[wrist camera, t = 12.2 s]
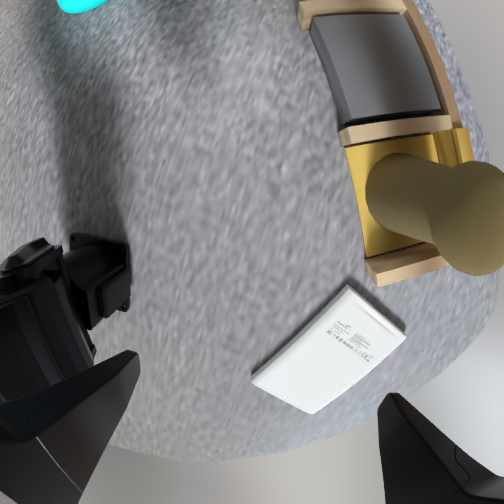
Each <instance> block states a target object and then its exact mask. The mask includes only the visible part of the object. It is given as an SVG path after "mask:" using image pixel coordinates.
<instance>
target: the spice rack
mask: <svg viewBox="0 0 504 504" xmlns="http://www.w3.org/2000/svg"><path fill="white" fill-rule="evenodd" d="M297 22H298V24H299V26H300V29H301V30H307V29H311V31H310V36H311V39H312V41H313V43H314V46H315V48H316V51H317V53H318V56H319V58H320V61H321V63H322V66H323V69H324V71H325V74H326V77H327V80H328V83H329V85H330V88H331V91H332V94H333V97H334V100H335V103H336V107H337V110H338V113H339V116H340V120H341V123H342V125H343V124H349V123H355V122H361V121H367V120H374V119H381V118H388V117H396V116H405V115H415V114H424V113H428V116H429V117H418V118H408V119H399V120H391V121H384V122H377V123H370V124H364V125H358V126H352V127H347V128H345V129H343V130H341V131H339V132H338V137H339V140H340V144H341V146H344V145H349V144H354V143H360V142H365V141H371V140H377V139H383V138H390V137H396V136H403V135H410V134H418V133H426V132H433V134H431V135H423V136H415V137H408V138H401V139H394V140H388V141H382V142H376V143H370V144H364V145H359V146H353V147H348V148H344V149H345V152H346V156H347V160H348V164H349V168H350V173H351V177H352V181H353V186H354V191H355V195H356V200H357V205H358V210H359V215H360V221H361V227H362V232H363V239H364V245H365V251H366V257H370V256H374V255H377V254H381V253H385V252H389V251H392V250H396V249H400V248H404V247H407V246H411V245H414V244H418V243H422V242H424V241H421V240H418V239H415V238H412V237H408V236H405V235H402V234H399V233H395V232H392V231H389V230H386V229H384V228H383V227H382V226H380V225H379V224H378V223H377V222H376V221H375V220H374V218H373V217H372V215H371V214H370V212H369V210H368V206H367V203H366V200H365V185H366V182H367V178H368V174H369V173H370V171H371V169H372V168H373V166H374V165H375V163H377V162H378V161H379V160H380V159H382V158H383V157H384V156H387V155H390V154H393V153H406V154H410V155H413V156H417V157H420V158H424V159H427V160H430V161H434V162H437V163H438V159H439V163H440V164H443V165H446V166H449V167H453V166H456V165H458V164H461V163H464V162H467V161H474V158H473V152H472V147H471V142H470V137H469V133H468V128H462V124H461V120H460V116H459V112H458V108H457V105H456V101H455V98H454V95H453V92H452V89H451V86H450V83H449V80H448V77H447V74H446V71H445V69H444V66H443V63H442V61H441V58H440V56H439V53H438V51H437V49H436V46H435V44H434V42H433V40H432V38H431V35H430V33H429V31H428V29H427V27H426V25H425V23H424V21H423V19H422V17H421V15H420V14H419V12H418V10H417V8H416V6H415V5H414V3H413V1H412V0H308V1H300V2H299V7H298V16H297ZM433 136H434V139H433ZM434 140H435V143H434ZM435 145H436V148H435ZM436 149H437V153H436ZM437 154H438V158H437ZM364 262H365V269H366V272H367V274H368V275H369V276H370V278H371V279H372V280H373V282H374V283H375V284H376V286H377V287H381V286H384V285H388V284H391V283H395V282H398V281H402V280H405V279H408V278H412V277H415V276H418V275H421V274H424V273H428V272H431V271H434V270H437V269H440V268H443V267H446V266H449V265H450V264H449V263H448V262H447V261H446V260H445V259H444V258H443V257H442V256H441V254H440V253H439V251H438V250H437V247H436V245H434V244H431V243H428V242H427V243H423V244H420V245H416V246H412V247H409V248H405V249H401V250H398V251H394V252H390V253H387V254H383V255H379V256H375V257H372V258H368V259H364Z"/></svg>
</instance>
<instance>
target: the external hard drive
mask: <svg viewBox="0 0 504 504" xmlns="http://www.w3.org/2000/svg"><path fill="white" fill-rule="evenodd" d="M406 338H407V336H406V335H405V333H404V332H403V331H402V330H400V329H399V328H398V327H397V326H396V325H395V324H394V323H393V322H391V321H390V320H389V319H388V318H387V317H386V316H384V315H382V314H381V313H380V312H379V311H378V310H377V309H375V307H374V306H373V305H372V304H371V303H369V302H368V301H367V300H366V299H365V298H364V297H362V296H361V295H360V294H359V293H358V292H356V291H355V290H354V289H353V288H352V287H351V286H349V285H348V284H347V285H346V286H345V287H344V288H343V289H342V290H341V291H340V292H339V293H338V294H337V295H336V296H335V297H334V298H333V299H332V300H331V301H330V302H329V303H328V304H327V305H326V306H325V307H324V308H323V309H322V310H321V311H320V312H319V313H318V314H317V315H316V316H315V317H314V318H313V319H312V320H311V321H310V322H309V323H308V324H307V325H306V326H305V327H304V328H303V329H302V330H301V331H300V332H299V333H298V334H297V335H296V336H295V337H294V338H293V339H292V340H291V341H289V342H288V343H287V344H286V345H285V346H284V347H283V348H282V349H281V350H280V351H279V352H277V353H276V354H275V355H274V356H273V357H272V358H271V359H270V360H269V361H268V362H266V363H265V364H264V365H263V366H262V367H261V368H260V369H258V370H257V371H256V372H255V373H254V374H253V375H252V376H251V382H252V383H253V384H254V385H256V386H258V387H259V388H261V389H263V390H265V391H267V392H268V393H270V394H272V395H274V396H276V397H278V398H280V399H281V400H283V401H285V402H287V403H289V404H291V405H293V406H295V407H297V408H299V409H301V410H303V411H305V412H307V413H310V414H314V413H315V412H317V411H318V410H320V409H321V408H323V407H324V406H325V405H327V404H328V403H330V402H331V401H332V400H334V399H335V398H336V397H338V396H339V395H340V394H342V393H343V392H344V391H346V390H347V389H348V388H350V387H351V386H352V385H353V384H355V383H356V382H357V381H358V380H360V379H361V378H362V377H363V376H365V375H366V374H367V373H368V372H369V371H370V370H372V369H373V368H374V367H375V366H376V365H377V364H379V363H380V362H381V361H382V360H383V359H384V358H385V357H386V356H387V355H389V354H390V353H391V352H392V351H393V350H394V349H395V348H396V347H397V346H398V345H399V344H400V343H401V342H402V341H404V340H405V339H406Z"/></svg>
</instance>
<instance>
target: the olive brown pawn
mask: <svg viewBox="0 0 504 504" xmlns="http://www.w3.org/2000/svg"><path fill="white" fill-rule="evenodd" d="M365 200H366V203H367V206H368V210H369V212H370V214H371V215H372V217H373V218H374V220H375V221H376V222H377V223H378V224H379V225H380V226H382V227H383V228H384V229H386V230H389V231H392V232H395V233H399V234H402V235H405V236H408V237H412V238H415V239H418V240H421V241H424V242H428V243H431V244H434V245H436V247H437V250H438V251H439V253H440V254H441V256H442V257H443V258H444V259H445V260H446V261H447V262H448V263H449V264H450V265H451V266H452V267H453V268H455V269H456V270H457V271H460V272H463V273H466V274H469V275H473V276H479V275H486V274H490V273H492V272H494V271H496V270H497V269H499V268H501V267H502V266H503V265H504V173H503V172H502V171H501V170H499V169H498V168H497V167H495V166H493V165H491V164H489V163H486V162H479V161H467V162H464V163H461V164H458V165H456V166H453V167H449V166H446V165H443V164H440V163H437V162H434V161H430V160H427V159H424V158H420V157H417V156H413V155H410V154H406V153H393V154H390V155H387V156H384V157H383V158H382V159H380V160H379V161H378V162H377V163H375V165H374V166H373V168H372V169H371V171H370V173H369V174H368V178H367V182H366V185H365Z"/></svg>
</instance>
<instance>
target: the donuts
mask: <svg viewBox="0 0 504 504" xmlns="http://www.w3.org/2000/svg"><path fill="white" fill-rule="evenodd" d="M107 1H108V0H57V3H58V5H59V7H60V8H61V9H62V10H63V11H65V12H67V13H82V12H86V11H89V10H91V9H94V8H96V7H98V6H100V5H102V4H103V3H105V2H107Z"/></svg>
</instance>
